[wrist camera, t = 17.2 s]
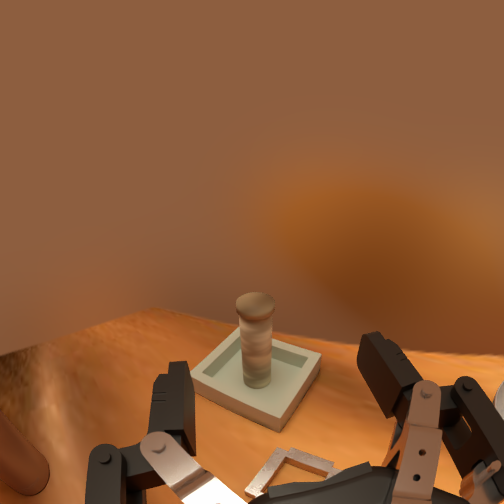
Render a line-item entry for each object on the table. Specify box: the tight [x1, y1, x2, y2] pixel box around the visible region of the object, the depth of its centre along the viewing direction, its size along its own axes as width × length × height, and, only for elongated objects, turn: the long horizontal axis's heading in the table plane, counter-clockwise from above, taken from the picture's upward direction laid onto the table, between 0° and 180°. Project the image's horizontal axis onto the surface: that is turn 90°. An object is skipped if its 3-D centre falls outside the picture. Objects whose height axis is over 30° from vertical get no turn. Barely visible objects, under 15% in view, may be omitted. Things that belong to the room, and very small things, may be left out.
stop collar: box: [245, 447, 342, 499], centre depth 26 cm, size 9×9×2 cm
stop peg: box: [236, 292, 275, 389], centre depth 41 cm, size 5×5×15 cm
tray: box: [190, 327, 322, 433], centre depth 43 cm, size 16×14×4 cm
